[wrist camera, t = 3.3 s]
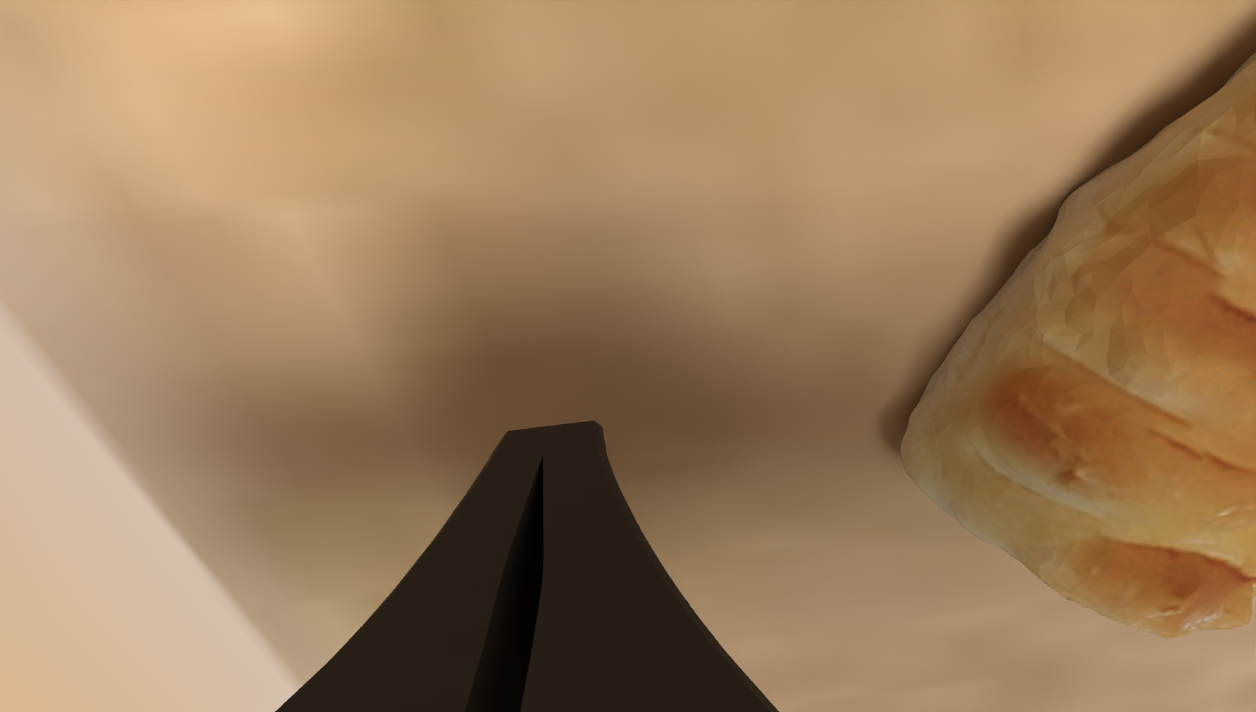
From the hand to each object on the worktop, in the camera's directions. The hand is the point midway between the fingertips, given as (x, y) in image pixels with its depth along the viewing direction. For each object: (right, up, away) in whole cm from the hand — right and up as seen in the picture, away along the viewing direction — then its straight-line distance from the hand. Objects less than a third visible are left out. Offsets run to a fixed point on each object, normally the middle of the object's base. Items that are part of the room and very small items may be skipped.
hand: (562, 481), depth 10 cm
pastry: (+9, +3, +2) cm, 10 cm away
